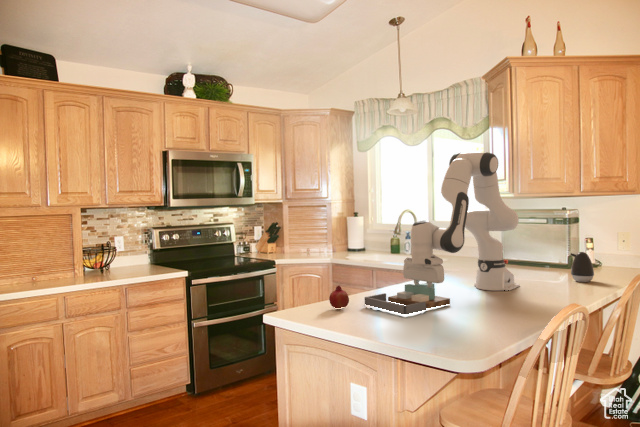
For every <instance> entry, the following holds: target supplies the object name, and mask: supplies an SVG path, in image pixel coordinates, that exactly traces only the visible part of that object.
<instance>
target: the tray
mask: <svg viewBox="0 0 640 427" xmlns="http://www.w3.org/2000/svg"><path fill="white" fill-rule="evenodd" d="M365 304H366V305H370V306H374V307H378V308H382V309H386V310H389V311H394V312H398V313H401V314H409V313H413V312H418V311H422V310H426V302H425V301H424V302H419V303H415V304H410V305H406V306H404V305H399V304H395V303H391V302H388V301H387V293H384V292H383V293H379V294H375V295H368V296H365V297H364V305H365Z"/></svg>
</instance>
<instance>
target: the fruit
mask: <svg viewBox="0 0 640 427" xmlns="http://www.w3.org/2000/svg"><path fill="white" fill-rule="evenodd" d="M328 297H329V298H328V300H329V301H328V302H329V304H330V306H332V307H333V308H334V307H335V308H341V307H345V308H346V307H347V306H348V305H349V303H350V298H349V295H348V292H346V290H343V289H342V287H341V285H337V286H336V287H335V290H334V291H332V292H331V293H330V295H329V296H328ZM335 308H334V309H335Z"/></svg>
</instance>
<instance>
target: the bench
mask: <svg viewBox="0 0 640 427" xmlns="http://www.w3.org/2000/svg"><path fill="white" fill-rule="evenodd" d="M387 300H388V301H391V302H396V303H400V304H404V305H410V304H415V303H419V302H417V301H412V298H409V299H403V298H398V297H397V294H396V295H390V296H387ZM388 301H387V302H388ZM425 302H426V308H431V307H436V306H441V305H446V304H450V305H451V298H450V297H444V296H438V295H435V299H433V300H429V301H425Z"/></svg>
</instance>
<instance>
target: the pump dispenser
mask: <svg viewBox="0 0 640 427" xmlns="http://www.w3.org/2000/svg"><path fill="white" fill-rule="evenodd" d="M569 255H570V256H572V257H574V258H573V260H572V264H571V270H570V275H571V277H572V279H573V280H574V281H575V282H578V283H589V282H591V281H592V280H593V278H594V276H595V269H594V266H593V262H592V260H591V258H590V257H589V255H588V254H587V253H586V252H584V251H579V252H577V253H576V254H575V253H573V252H570V253H569Z"/></svg>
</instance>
